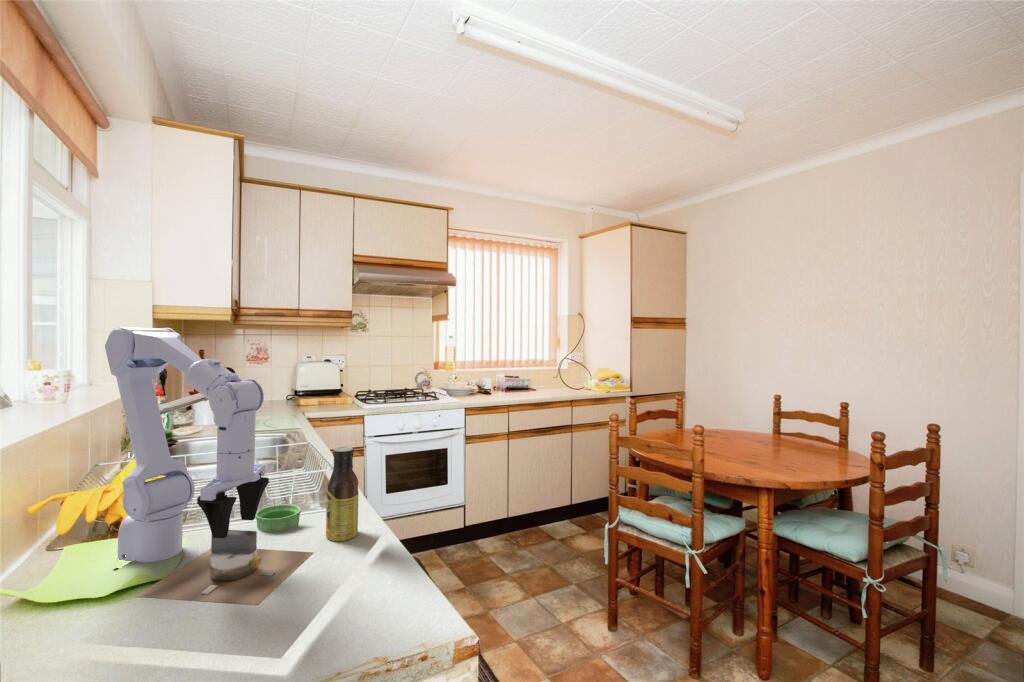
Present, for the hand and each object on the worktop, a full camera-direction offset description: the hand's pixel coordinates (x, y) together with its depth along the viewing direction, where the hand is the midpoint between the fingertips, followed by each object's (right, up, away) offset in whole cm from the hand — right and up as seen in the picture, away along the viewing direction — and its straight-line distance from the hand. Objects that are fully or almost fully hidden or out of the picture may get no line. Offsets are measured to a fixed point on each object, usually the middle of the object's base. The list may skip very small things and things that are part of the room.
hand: (234, 527), depth 83 cm
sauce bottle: (+13, -10, +16) cm, 23 cm away
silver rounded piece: (0, -8, 0) cm, 8 cm away
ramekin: (-3, -9, +21) cm, 23 cm away
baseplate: (0, -9, 0) cm, 9 cm away
